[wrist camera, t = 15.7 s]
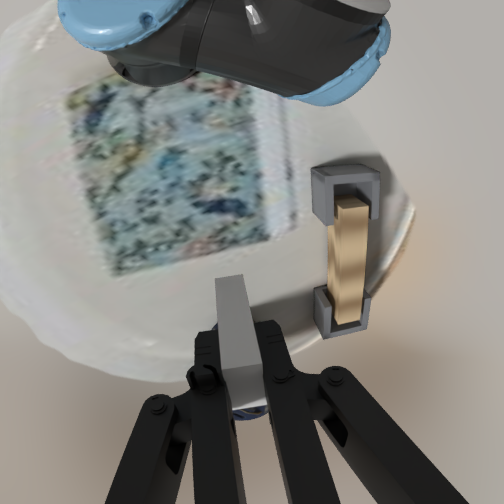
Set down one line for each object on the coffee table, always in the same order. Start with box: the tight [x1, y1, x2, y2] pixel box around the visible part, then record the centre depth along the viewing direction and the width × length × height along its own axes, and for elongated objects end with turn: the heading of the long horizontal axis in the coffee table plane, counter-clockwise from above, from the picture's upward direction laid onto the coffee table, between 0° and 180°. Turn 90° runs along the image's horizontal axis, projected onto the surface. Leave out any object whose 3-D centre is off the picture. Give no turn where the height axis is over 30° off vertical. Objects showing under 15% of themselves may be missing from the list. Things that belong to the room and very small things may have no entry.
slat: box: [327, 194, 369, 325], centre depth 48 cm, size 20×4×6 cm, turn 6°
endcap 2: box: [314, 286, 371, 340], centre depth 53 cm, size 7×8×6 cm
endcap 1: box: [311, 164, 380, 226], centre depth 43 cm, size 7×8×6 cm
